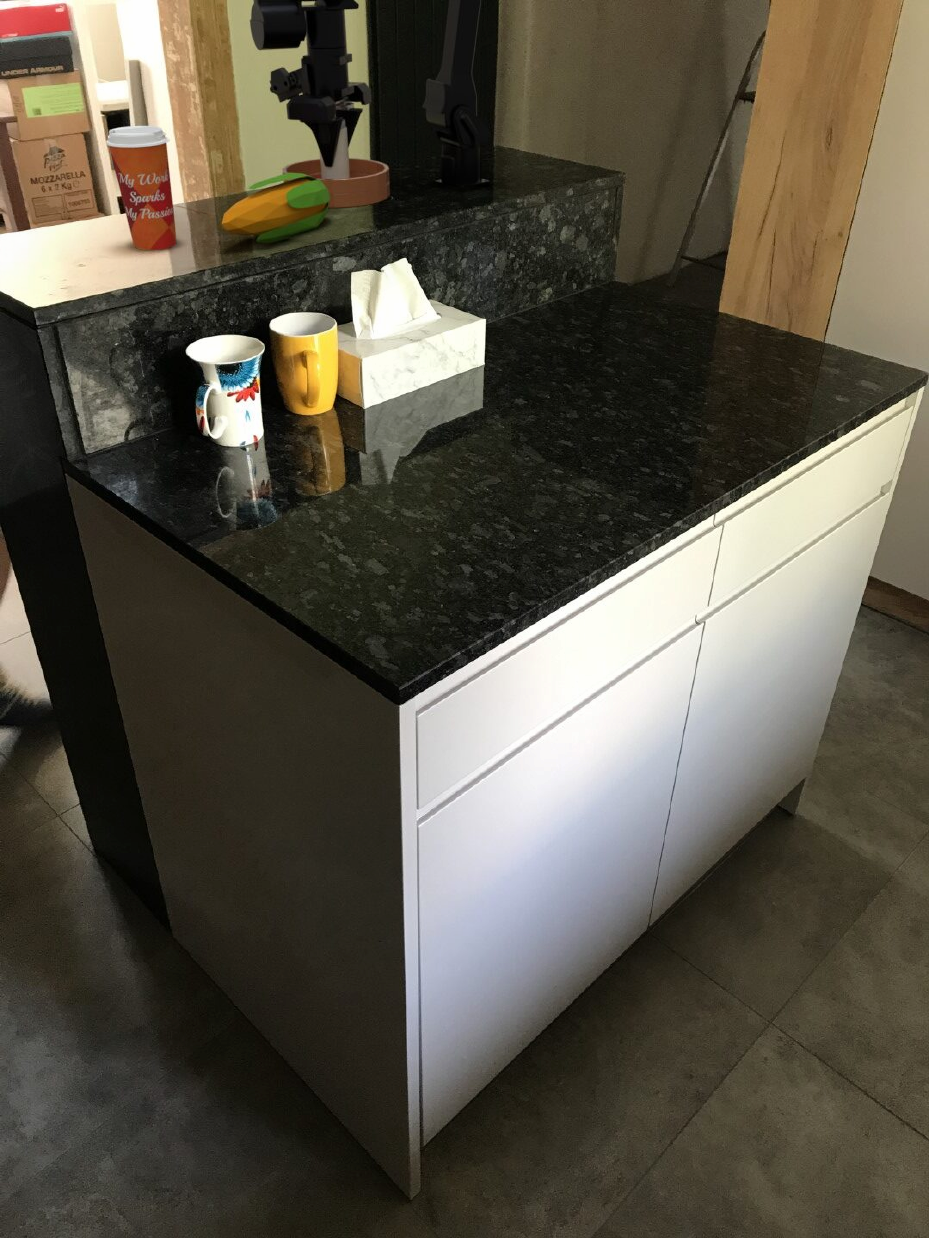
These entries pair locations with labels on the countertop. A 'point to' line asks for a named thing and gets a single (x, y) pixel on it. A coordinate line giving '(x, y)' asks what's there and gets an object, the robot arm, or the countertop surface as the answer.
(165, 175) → the paper cup
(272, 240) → the corn
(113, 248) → the countertop surface
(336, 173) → the cylinder
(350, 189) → the bowl
